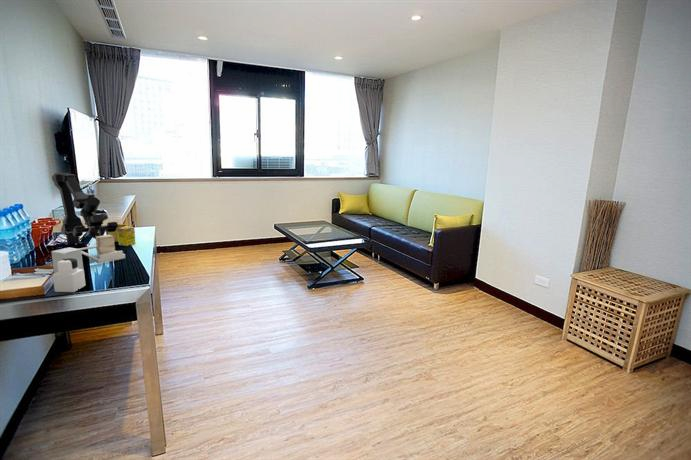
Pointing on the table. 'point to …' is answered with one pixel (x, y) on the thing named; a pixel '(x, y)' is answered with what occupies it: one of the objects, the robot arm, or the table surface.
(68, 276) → the white stepped block
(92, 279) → the table surface
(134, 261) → the table surface
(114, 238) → the plant pot
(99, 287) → the table surface
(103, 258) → the tray
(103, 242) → the birch block
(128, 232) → the supplement box
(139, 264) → the table surface
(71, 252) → the supplement box
